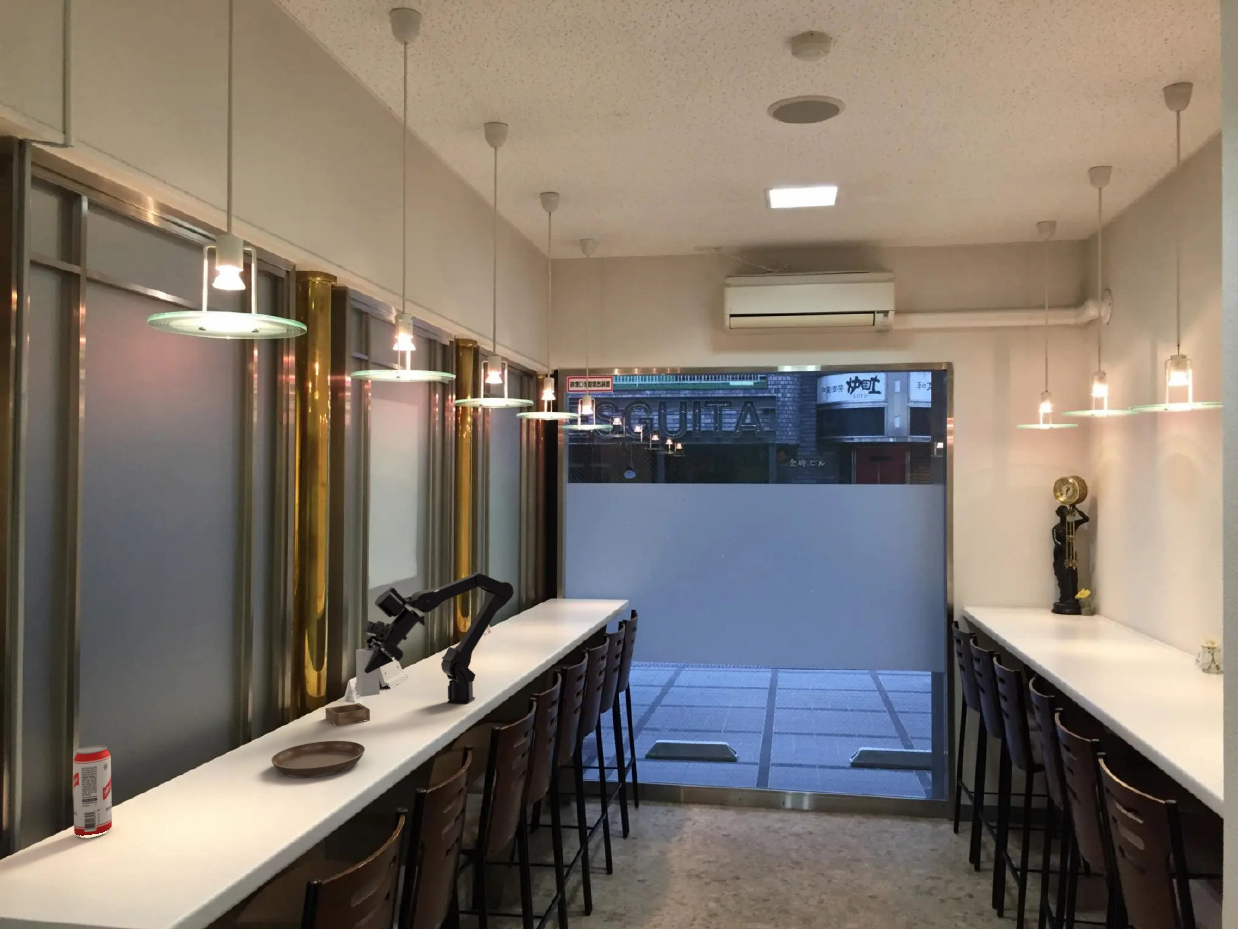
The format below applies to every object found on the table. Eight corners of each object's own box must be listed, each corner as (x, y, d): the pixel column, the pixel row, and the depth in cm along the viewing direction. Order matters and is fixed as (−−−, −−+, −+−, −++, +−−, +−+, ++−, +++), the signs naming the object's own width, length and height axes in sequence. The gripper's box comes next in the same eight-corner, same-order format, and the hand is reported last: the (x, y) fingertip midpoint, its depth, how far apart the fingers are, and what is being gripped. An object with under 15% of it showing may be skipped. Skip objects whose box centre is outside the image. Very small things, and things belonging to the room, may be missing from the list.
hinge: (390, 689, 297) (379, 659, 298) (376, 694, 298) (366, 664, 298) (409, 678, 314) (398, 650, 314) (396, 683, 314) (386, 655, 315)
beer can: (71, 842, 172) (70, 755, 173) (76, 831, 178) (75, 747, 178) (110, 836, 175) (108, 750, 175) (113, 825, 180) (112, 742, 181)
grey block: (373, 691, 266) (373, 647, 266) (379, 694, 262) (379, 650, 262) (356, 693, 263) (355, 649, 264) (362, 696, 259) (361, 652, 259)
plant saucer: (327, 785, 203) (327, 769, 203) (251, 777, 210) (251, 762, 210) (382, 757, 222) (382, 743, 222) (311, 751, 229) (311, 738, 229)
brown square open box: (359, 713, 266) (359, 703, 266) (369, 720, 258) (369, 709, 258) (325, 718, 261) (325, 708, 261) (335, 725, 253) (335, 714, 253)
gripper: (370, 606, 273) (332, 648, 267) (391, 613, 257) (352, 657, 251) (396, 630, 277) (360, 672, 271) (419, 638, 261) (381, 683, 255)
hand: (362, 671), depth 262 cm, fingers closed on grey block, 5 cm apart
